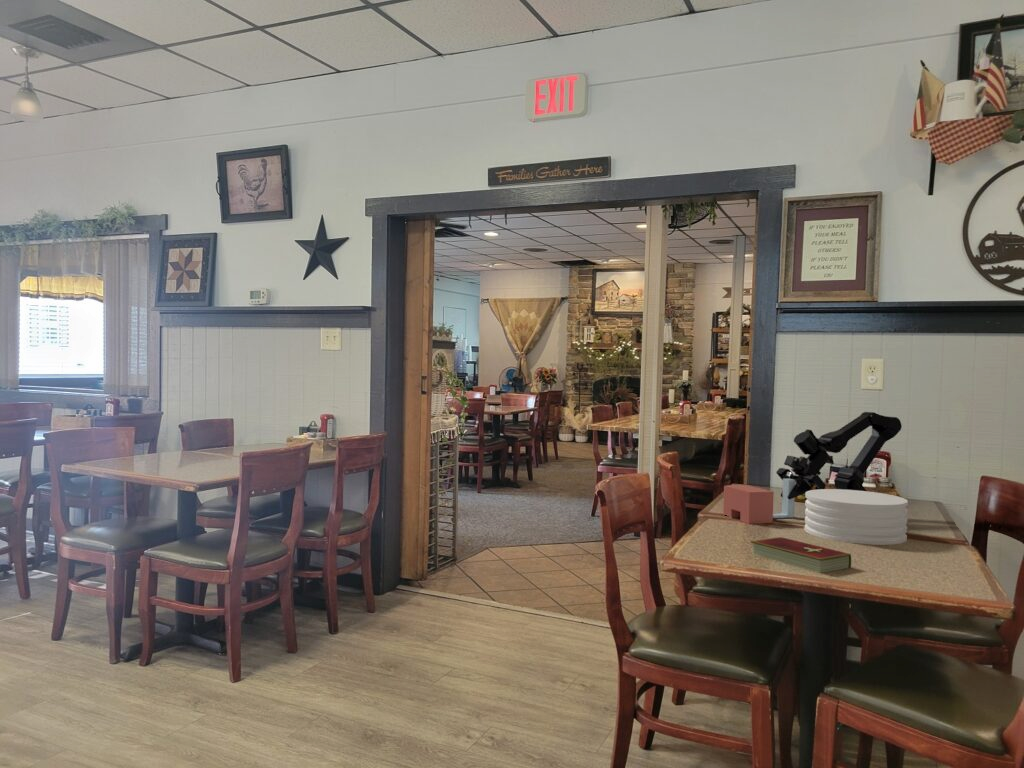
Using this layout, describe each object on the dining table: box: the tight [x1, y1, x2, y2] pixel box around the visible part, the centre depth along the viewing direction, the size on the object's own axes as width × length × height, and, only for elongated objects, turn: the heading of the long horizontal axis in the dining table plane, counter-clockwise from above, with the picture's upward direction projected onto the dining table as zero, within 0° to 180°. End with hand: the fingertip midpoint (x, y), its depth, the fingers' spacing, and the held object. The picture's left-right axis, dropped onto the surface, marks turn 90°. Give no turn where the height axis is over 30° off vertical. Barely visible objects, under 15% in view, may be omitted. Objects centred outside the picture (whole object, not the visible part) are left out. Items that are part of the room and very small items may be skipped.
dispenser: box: [722, 484, 775, 525], centre depth 243 cm, size 10×14×10 cm
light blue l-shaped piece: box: [773, 479, 795, 519], centre depth 246 cm, size 13×3×12 cm, turn 108°
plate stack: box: [804, 488, 909, 546], centre depth 224 cm, size 28×28×12 cm
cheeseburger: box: [794, 485, 816, 503], centre depth 282 cm, size 10×11×10 cm
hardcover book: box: [750, 536, 852, 574], centre depth 189 cm, size 12×21×4 cm, turn 32°
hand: (784, 497), depth 247 cm, fingers closed on light blue l-shaped piece, 3 cm apart
